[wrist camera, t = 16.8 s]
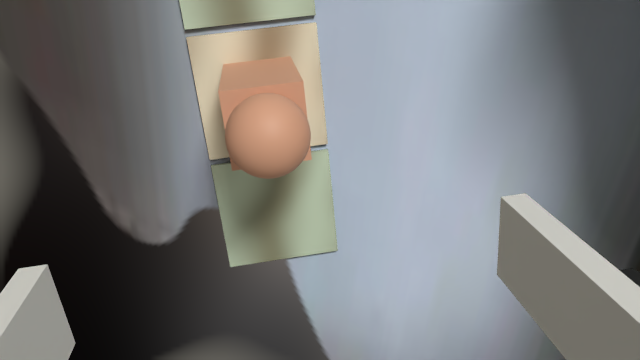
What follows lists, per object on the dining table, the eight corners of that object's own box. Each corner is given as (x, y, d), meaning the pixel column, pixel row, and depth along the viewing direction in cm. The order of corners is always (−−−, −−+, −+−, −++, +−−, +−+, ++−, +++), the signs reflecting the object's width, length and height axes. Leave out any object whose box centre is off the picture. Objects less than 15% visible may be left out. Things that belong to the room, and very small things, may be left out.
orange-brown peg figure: (290, 56, 35) (312, 98, 24) (297, 120, 37) (321, 186, 26) (223, 64, 34) (214, 110, 24) (234, 128, 36) (230, 199, 25)
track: (282, -331, 27) (283, -334, 27) (336, 248, 41) (337, 250, 41) (117, -323, 27) (116, -326, 26) (230, 265, 41) (230, 267, 40)
